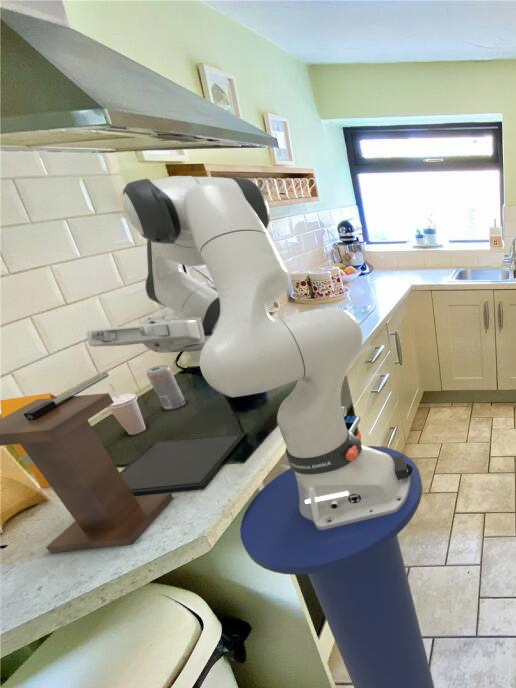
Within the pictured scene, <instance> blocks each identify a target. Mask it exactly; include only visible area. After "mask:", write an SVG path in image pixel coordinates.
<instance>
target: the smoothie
mask: <svg viewBox="0 0 516 688" xmlns="http://www.w3.org/2000/svg"><path fill="white" fill-rule="evenodd" d="M108 385H109V387H110V388H111V390H112V392H113V394H114V396H113V397H111V398H112V400H113V402H114V403H113V404H111V405H110V406H108V407H107V408H106V409H108V410H109V411H110V413H111V414H112V415H113V417H114V418H115V419H116V420H117V421H118V423H119V424H120V425H121V426H122V428H123V429H124V430H125V431H126V433H127V434H128V435H131V436H132V435H137V434H140V433H143V432H145V431H146V429H147V427H146V424H145V421H144V418H143V415H142V412H141V409H140V407H139V404H138V401H137V400H138V397H137V395H136V394H135V393H124V394H119V393H118V391H117V390H116V388H115V386H114V384H113V383H112V382H111V383H109V384H108Z"/></svg>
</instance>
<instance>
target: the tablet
mask: <svg viewBox="0 0 516 688" xmlns="http://www.w3.org/2000/svg"><path fill="white" fill-rule="evenodd" d="M247 437H248V434H247V432H241V433H230V434H220V435H208V436H198V437H189V438H178V439H167V440H156V441H154V442H153V443H151V445H149V446H148V447H147V448H146V449H144V450H143V451H142V452H141V453H140V454H139V455H138V456H137V457H135V459H133V460H132V461H131V462H130V463H128V465H127V466H125V467H124V468H123V469H122V470H121V471H119V472H120V474H121V475H122V477H123V479H124V480H125V482H126V484H127V485H128V487H129V489H130V490H131V492H132V493H133V495H134V497H135V496H145V495H155V494H164V493H178V492H188V491H198V490H199V491H200V490H205V489H206V487H207V486H208V485H209V484H210V483H211V481H212V480H213V479H214V478H215V476H216V475H217V474H218V473H219V472H220V470H221V469H222V468H223V467H224V465H226V463H227V461H228V460H229V459H230V458H231V457H232V456H233V454H234V453H235V452H236V451H237V449H238V448H240V446H241V444H242V443H243V442H244V441H245V439H247Z"/></svg>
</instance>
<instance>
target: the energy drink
mask: <svg viewBox="0 0 516 688" xmlns="http://www.w3.org/2000/svg"><path fill="white" fill-rule="evenodd" d="M146 376H147V379H148V380H149V383H150V384H151V386H152V388H153V390H154V392H155V395H156V396H157V398H158V400H159V402H160V404H161V406H162V408H163V409H164V410H166V411H173V410H177V409H180V408H181V407H184V405H185V404H186V402H187V401H186V399H185V397H184V395H183V393H182V391H181V388H180V385H179V384H178V382H177V380H176V378H175V376H174V374H173V372H172V369H171V368H170V367H169V365H167V364H162V365H157V366H153V367H151V368H148V369H147V370H146Z"/></svg>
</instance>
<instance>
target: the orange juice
mask: <svg viewBox="0 0 516 688" xmlns="http://www.w3.org/2000/svg"><path fill="white" fill-rule="evenodd" d="M47 398H58V396H55V395H54V394H52V392H49V393H42V394H35V395H28V396H27V395H26V396H22V397H21V396H20V397H14V398H7V399H1V400H0V416H1V417H0V419H2V418H3V417H5V416H7V415H9V414H11V413H13V412H15V411H16V410H18V409H20V408H22V407H24V406H26V405H28V404H30V403H31V402H33V401H35V400H37V399H47ZM11 446H12V447H13V449H14V450H15V452H16V453H17V454H18V455H19V458H20V459H21V460H22V461H23V463H24V465H26V466H27V468H28V469H29V470H30V472H31V473H32V474H33V476H34V477H35V478H36V480H37V482H38V483H39V484H40V485H41V487H42V488H46V487H51V486H50V485H49V483H48V482H47V481H46V479H45V478H44V476H43V475H42V474H41V472H40V471H39V470H38V468H37V467H36V465H35V464H34V463H33V461H32V460H31V458H30V457H29V456H28V454H27V453H26V452H25V450H24V449H23V447H22V446H21V445H20V444H13V445H11Z"/></svg>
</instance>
